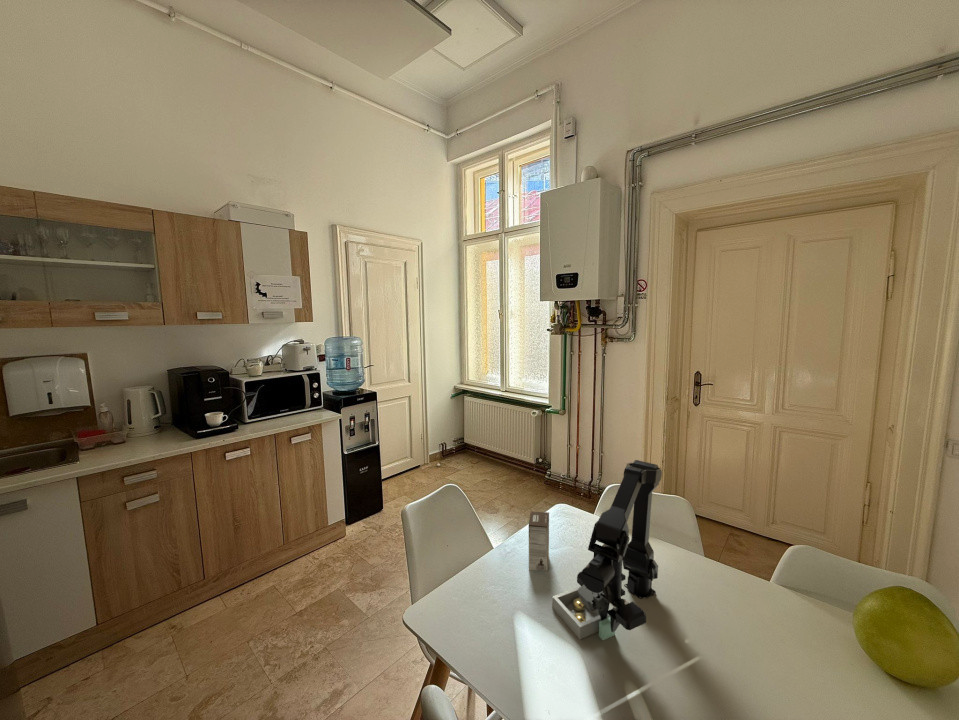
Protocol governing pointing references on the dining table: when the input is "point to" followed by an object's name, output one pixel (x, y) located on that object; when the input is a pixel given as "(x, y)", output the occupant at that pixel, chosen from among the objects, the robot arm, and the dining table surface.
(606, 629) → the lid
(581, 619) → the ball
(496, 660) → the dining table surface
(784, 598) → the dining table surface
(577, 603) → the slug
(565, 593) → the tub
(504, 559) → the dining table surface
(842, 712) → the dining table surface
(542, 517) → the coffee box
